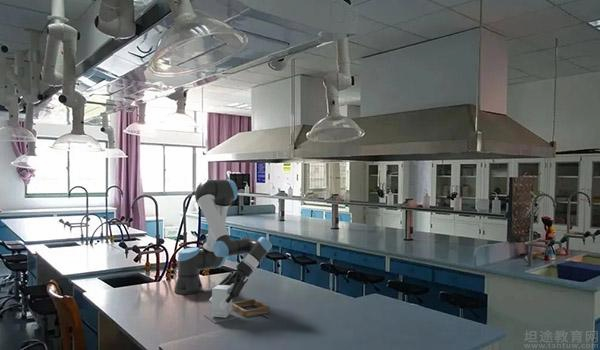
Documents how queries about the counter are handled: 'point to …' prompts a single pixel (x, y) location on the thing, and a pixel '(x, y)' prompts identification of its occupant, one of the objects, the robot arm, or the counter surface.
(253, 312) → the crate
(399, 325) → the counter surface
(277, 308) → the counter surface
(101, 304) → the counter surface
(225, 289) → the supplement box
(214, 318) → the mat
